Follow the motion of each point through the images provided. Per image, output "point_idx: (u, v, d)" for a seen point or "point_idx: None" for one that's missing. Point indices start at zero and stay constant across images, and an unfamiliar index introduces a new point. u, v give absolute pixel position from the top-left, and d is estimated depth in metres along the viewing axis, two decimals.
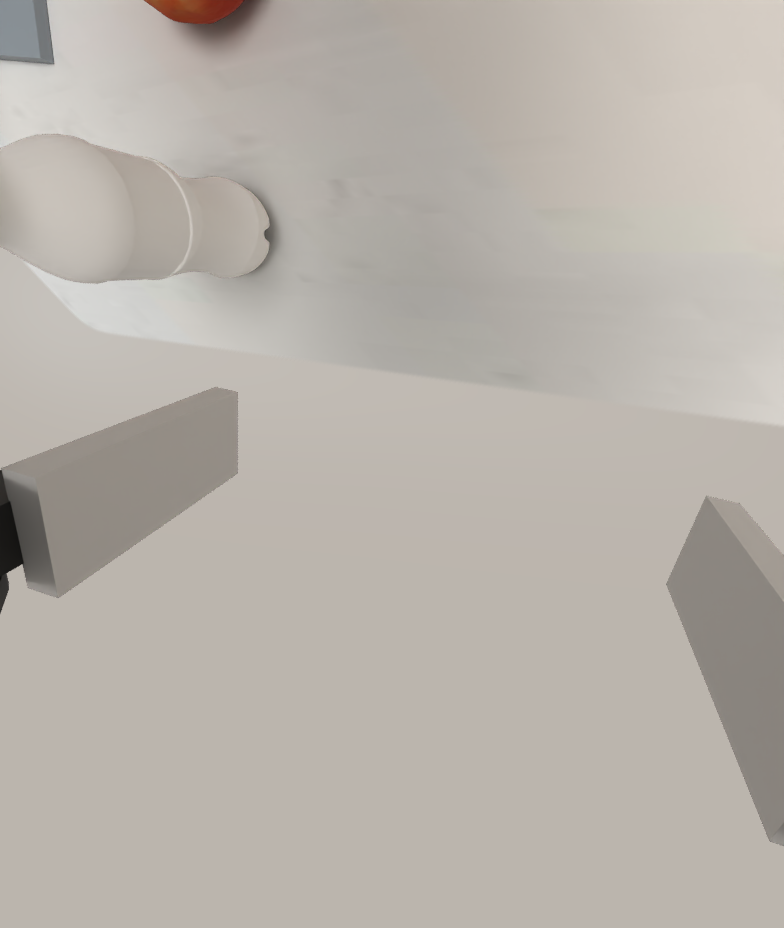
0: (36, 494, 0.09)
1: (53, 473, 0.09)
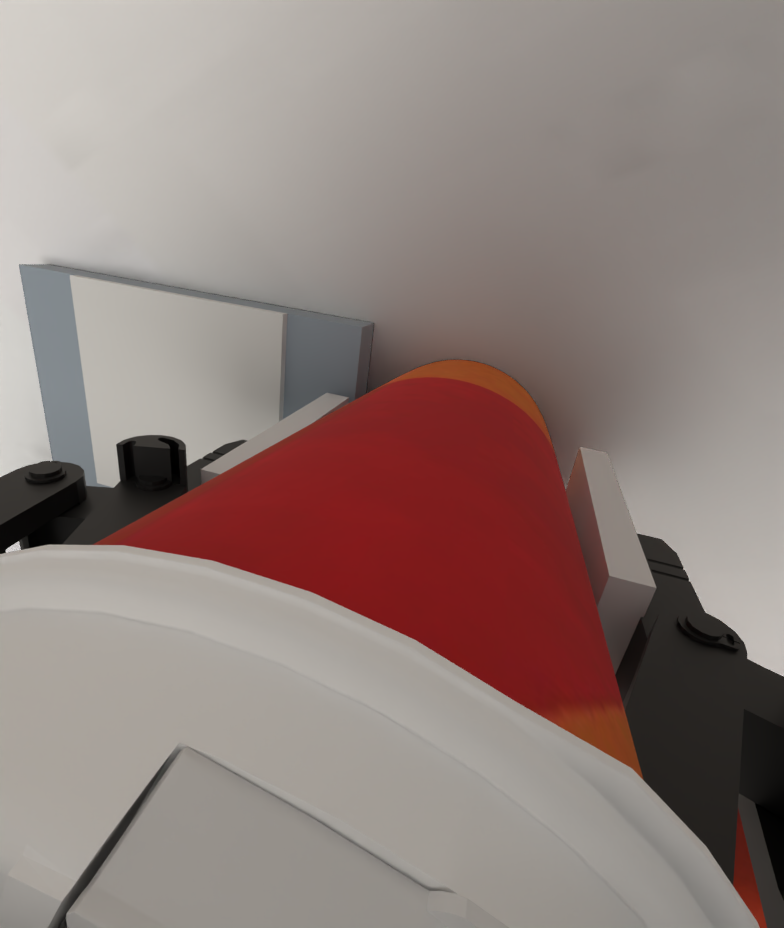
0: None
1: None
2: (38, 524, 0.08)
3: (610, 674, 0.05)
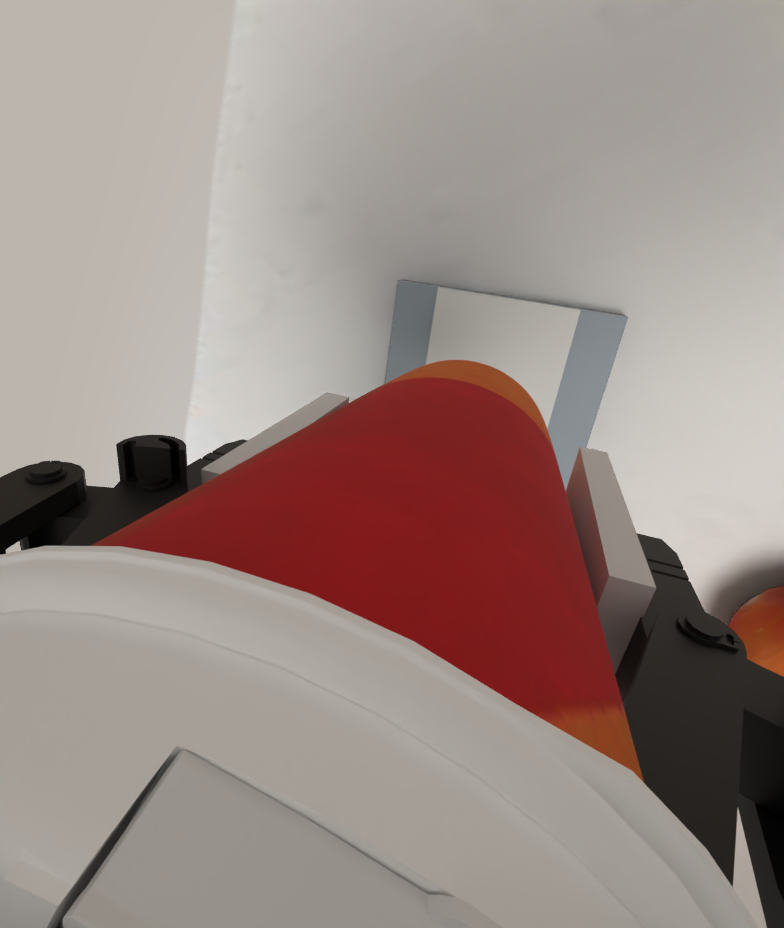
0: None
1: None
2: (38, 524, 0.08)
3: (610, 675, 0.05)
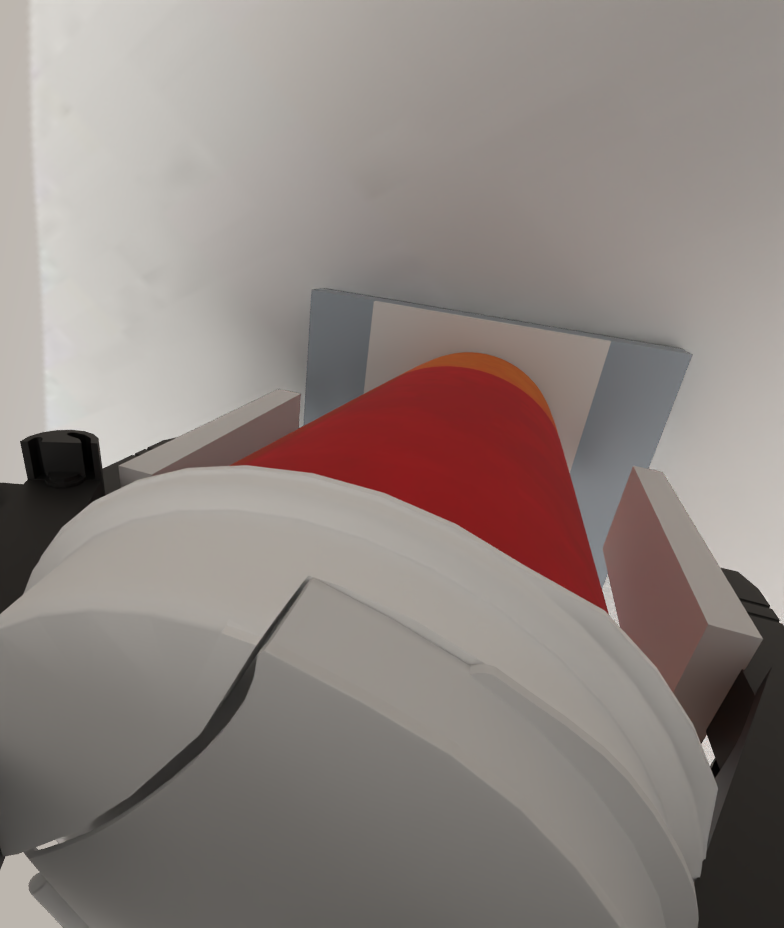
0: None
1: (165, 470, 0.10)
2: None
3: (600, 596, 0.06)
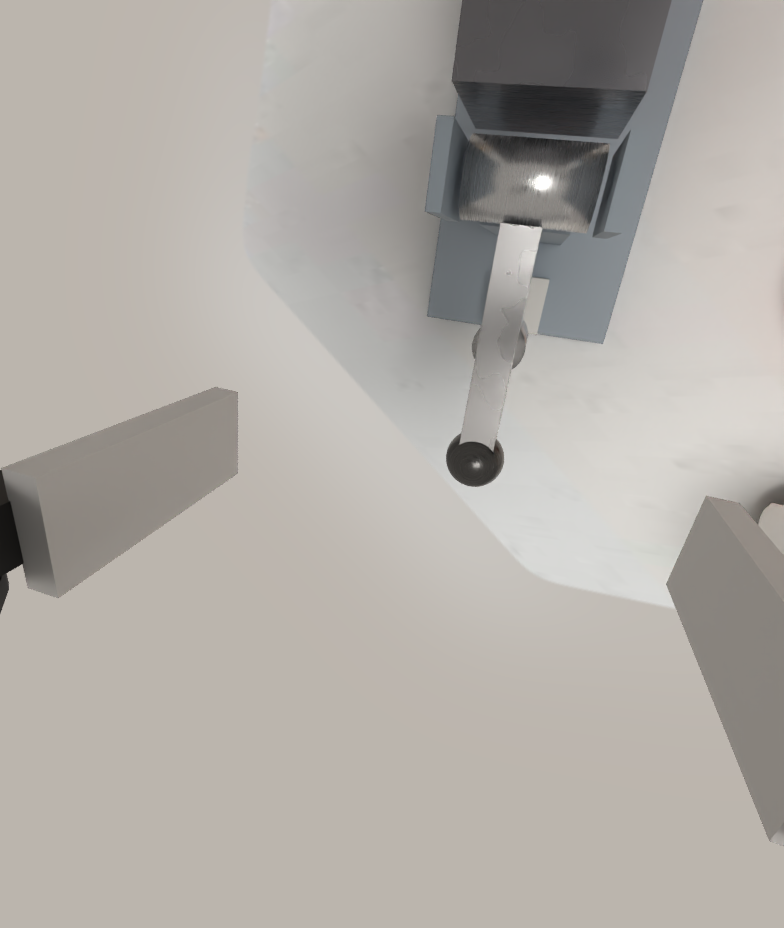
0: (36, 494, 0.09)
1: (53, 473, 0.09)
2: None
3: None
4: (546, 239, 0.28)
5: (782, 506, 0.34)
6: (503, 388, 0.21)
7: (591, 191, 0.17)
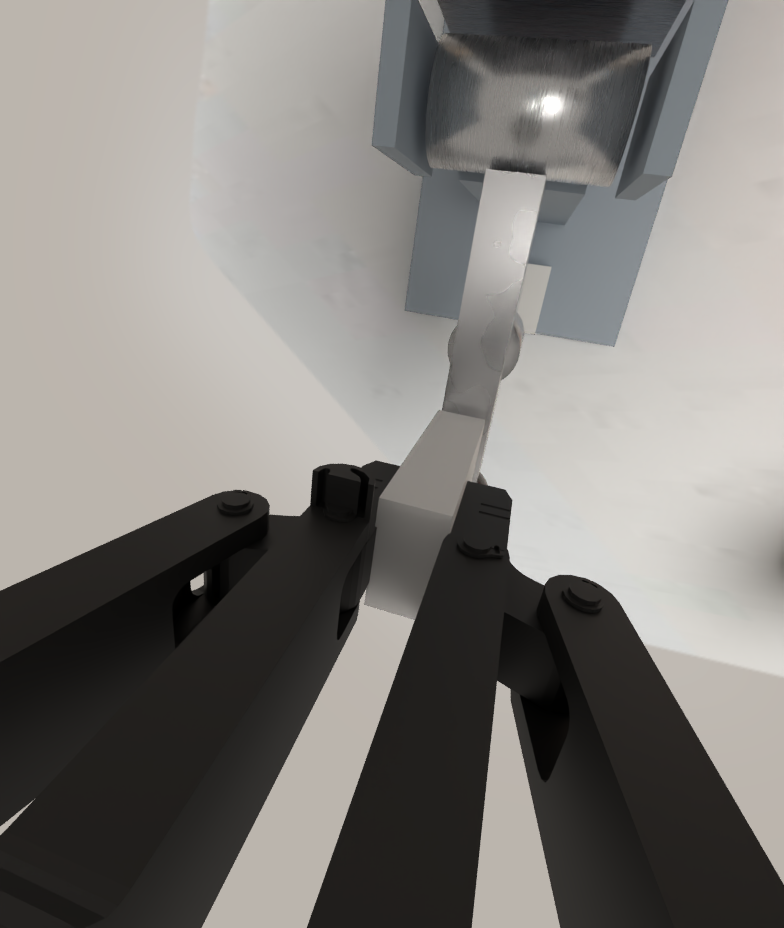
0: (411, 521, 0.10)
1: (419, 502, 0.10)
2: (219, 559, 0.08)
3: None
4: (549, 212, 0.22)
5: None
6: (488, 407, 0.15)
7: (622, 115, 0.11)
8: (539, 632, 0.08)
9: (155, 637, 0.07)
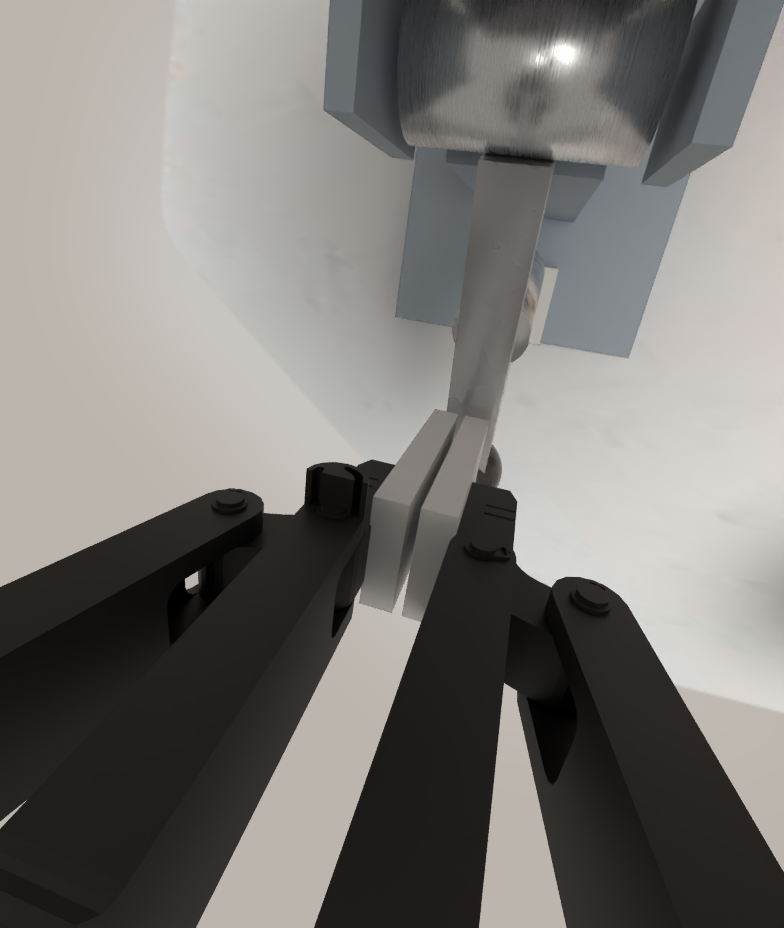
0: (406, 520, 0.10)
1: (413, 500, 0.10)
2: (214, 557, 0.08)
3: None
4: (556, 206, 0.19)
5: None
6: (494, 405, 0.15)
7: (648, 105, 0.09)
8: (547, 635, 0.08)
9: (150, 635, 0.07)
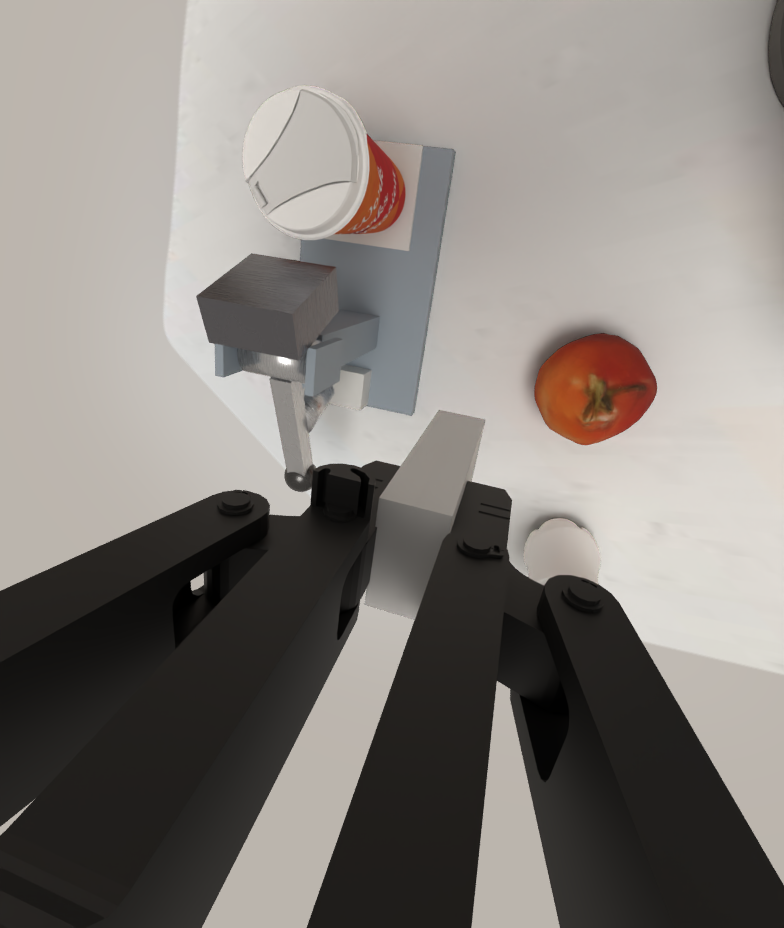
0: (411, 521, 0.10)
1: (419, 502, 0.10)
2: (220, 559, 0.08)
3: None
4: None
5: (533, 532, 0.48)
6: (299, 450, 0.38)
7: (303, 377, 0.32)
8: (538, 632, 0.08)
9: (155, 637, 0.07)
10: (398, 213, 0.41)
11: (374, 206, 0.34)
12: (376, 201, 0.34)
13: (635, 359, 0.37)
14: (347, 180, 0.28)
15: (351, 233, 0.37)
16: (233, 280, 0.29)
